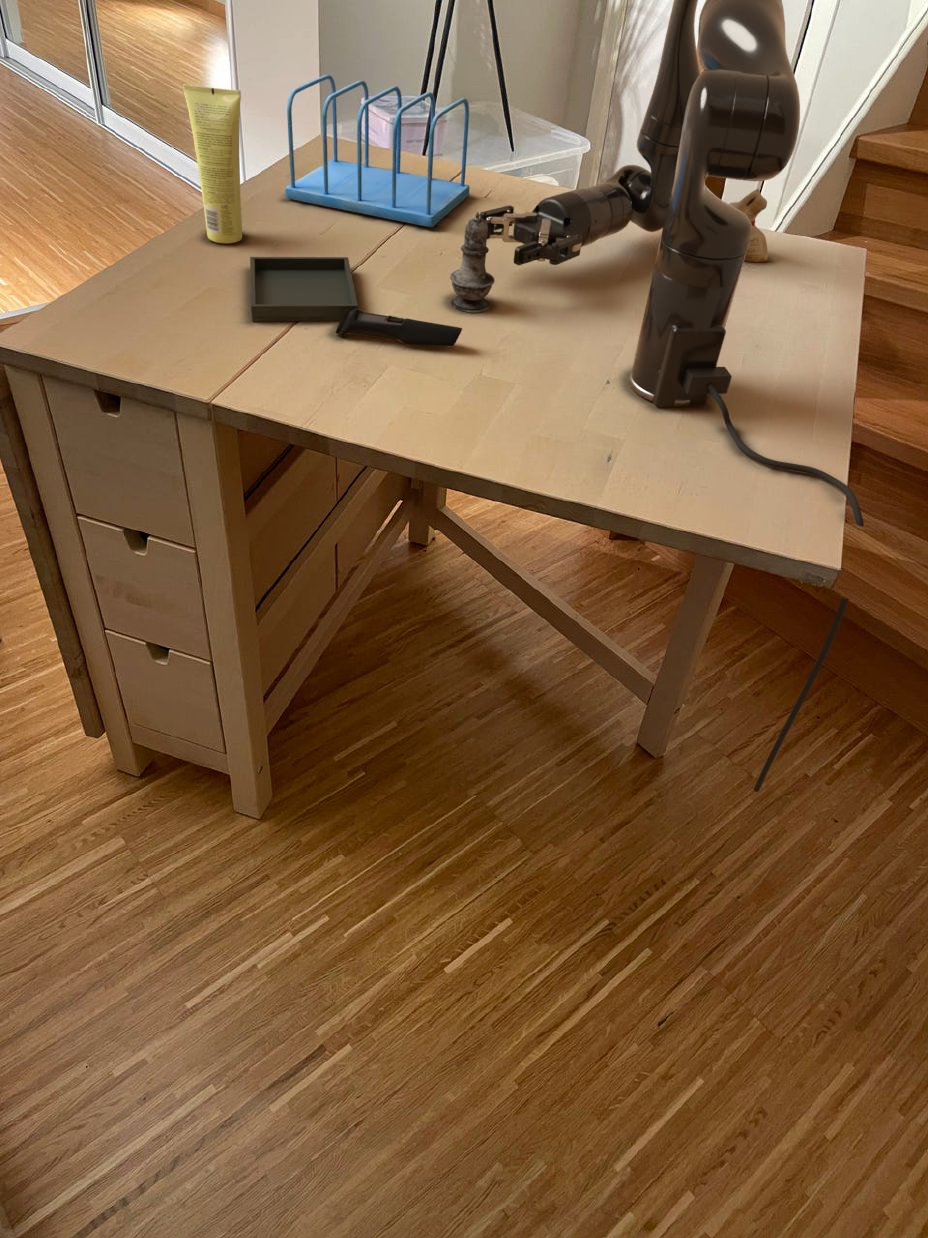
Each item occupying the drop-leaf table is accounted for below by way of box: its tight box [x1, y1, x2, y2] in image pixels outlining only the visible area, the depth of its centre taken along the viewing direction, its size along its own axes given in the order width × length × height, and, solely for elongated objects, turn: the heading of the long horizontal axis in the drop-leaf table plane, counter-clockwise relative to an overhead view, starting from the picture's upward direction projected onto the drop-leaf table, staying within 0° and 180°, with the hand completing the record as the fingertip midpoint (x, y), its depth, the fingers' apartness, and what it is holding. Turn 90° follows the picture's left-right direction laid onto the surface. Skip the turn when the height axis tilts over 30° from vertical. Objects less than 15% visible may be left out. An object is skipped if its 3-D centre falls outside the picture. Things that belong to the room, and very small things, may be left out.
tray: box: [249, 256, 359, 322], centre depth 120 cm, size 15×13×2 cm
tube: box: [182, 83, 243, 244], centre depth 126 cm, size 6×5×20 cm
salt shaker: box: [449, 211, 495, 314], centre depth 119 cm, size 6×6×12 cm
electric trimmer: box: [335, 308, 463, 347], centre depth 113 cm, size 4×16×3 cm, turn 80°
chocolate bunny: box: [728, 188, 770, 263], centre depth 140 cm, size 6×8×10 cm
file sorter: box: [285, 74, 470, 228], centre depth 144 cm, size 25×17×15 cm
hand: (492, 245), depth 120 cm, fingers open, 8 cm apart
